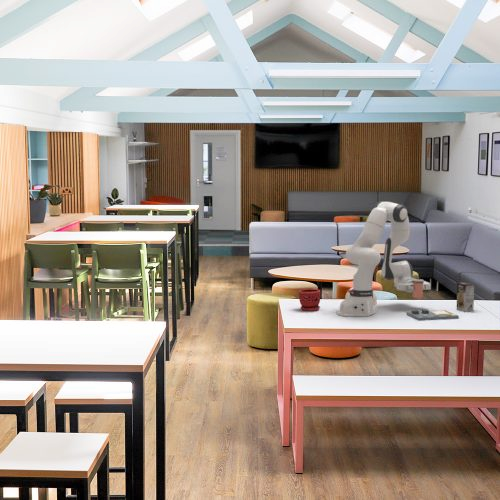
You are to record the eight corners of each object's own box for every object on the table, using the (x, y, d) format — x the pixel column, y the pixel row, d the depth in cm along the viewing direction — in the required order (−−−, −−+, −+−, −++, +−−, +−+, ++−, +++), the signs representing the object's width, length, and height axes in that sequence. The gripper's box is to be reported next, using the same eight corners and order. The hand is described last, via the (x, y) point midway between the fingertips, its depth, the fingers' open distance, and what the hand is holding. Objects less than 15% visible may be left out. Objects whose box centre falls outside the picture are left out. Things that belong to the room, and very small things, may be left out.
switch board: (418, 320, 432) (418, 314, 431) (406, 314, 448) (406, 309, 448) (458, 318, 436) (458, 312, 436) (445, 312, 453) (445, 307, 453)
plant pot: (320, 307, 473) (320, 288, 471) (320, 312, 460) (320, 292, 458) (299, 307, 474) (299, 288, 473) (298, 311, 461) (298, 291, 460)
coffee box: (455, 309, 464) (456, 282, 463) (465, 308, 466) (465, 281, 465) (464, 311, 456) (465, 284, 454) (474, 311, 458) (474, 284, 456)
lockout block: (415, 298, 454) (415, 281, 453) (411, 297, 459) (412, 280, 457) (423, 298, 455) (423, 281, 454) (419, 296, 460) (420, 279, 458)
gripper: (392, 280, 466) (401, 283, 453) (424, 279, 470) (434, 282, 457) (392, 290, 467) (401, 294, 453) (424, 289, 471) (434, 293, 457)
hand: (418, 288), depth 455 cm, fingers closed on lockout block, 4 cm apart
